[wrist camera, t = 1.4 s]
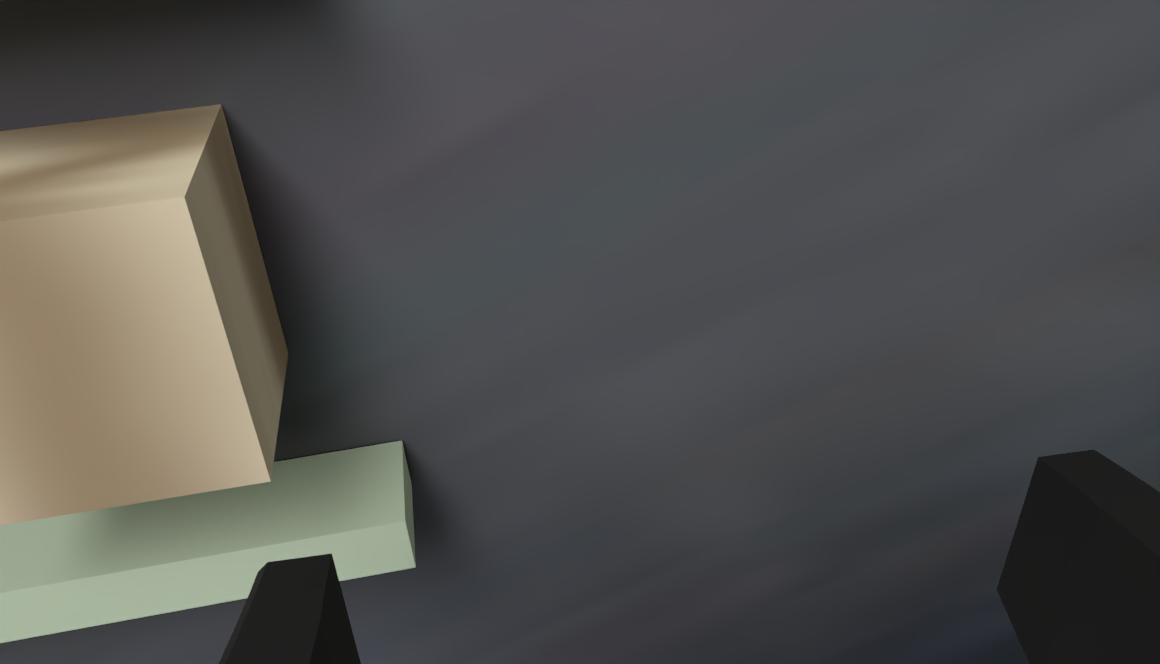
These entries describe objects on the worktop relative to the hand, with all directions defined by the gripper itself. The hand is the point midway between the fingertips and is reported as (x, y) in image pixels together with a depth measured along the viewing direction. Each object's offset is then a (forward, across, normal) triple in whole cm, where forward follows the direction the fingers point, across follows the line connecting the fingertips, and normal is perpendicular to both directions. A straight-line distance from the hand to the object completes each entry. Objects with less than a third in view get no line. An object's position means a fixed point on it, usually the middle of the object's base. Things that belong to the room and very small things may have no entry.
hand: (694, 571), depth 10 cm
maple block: (+10, +8, +1) cm, 13 cm away
